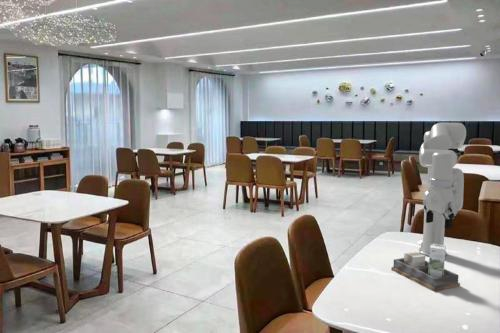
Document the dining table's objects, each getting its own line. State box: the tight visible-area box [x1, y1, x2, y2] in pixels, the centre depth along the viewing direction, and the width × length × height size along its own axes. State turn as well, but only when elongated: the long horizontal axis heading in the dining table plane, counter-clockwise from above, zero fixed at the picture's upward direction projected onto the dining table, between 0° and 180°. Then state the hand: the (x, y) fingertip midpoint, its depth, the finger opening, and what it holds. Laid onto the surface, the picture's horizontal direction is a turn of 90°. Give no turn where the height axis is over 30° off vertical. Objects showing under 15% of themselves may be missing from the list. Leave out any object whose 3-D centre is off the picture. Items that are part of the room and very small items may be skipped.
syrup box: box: [428, 244, 447, 278], centre depth 180 cm, size 6×6×14 cm
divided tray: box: [391, 251, 461, 292], centre depth 186 cm, size 25×14×8 cm, turn 22°
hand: (438, 225), depth 178 cm, fingers open, 9 cm apart
